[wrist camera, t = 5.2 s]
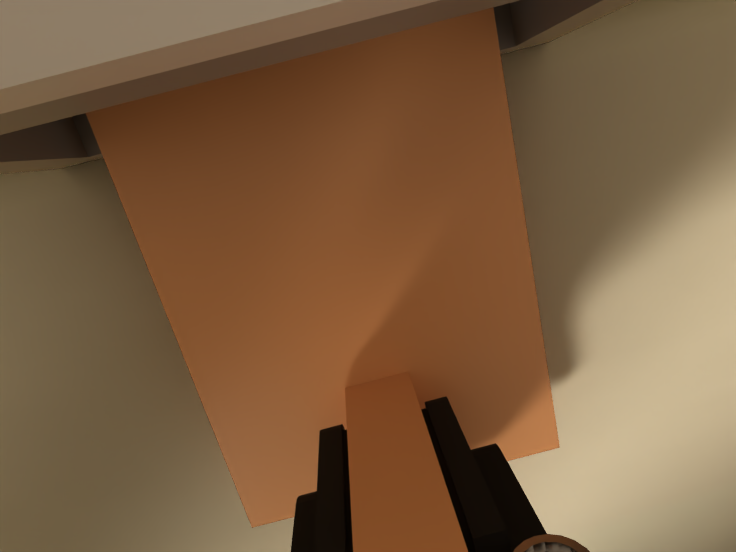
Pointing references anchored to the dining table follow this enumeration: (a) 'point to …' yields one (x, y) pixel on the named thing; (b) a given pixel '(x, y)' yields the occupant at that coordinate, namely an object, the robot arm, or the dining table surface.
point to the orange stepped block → (345, 267)
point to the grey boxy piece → (198, 52)
